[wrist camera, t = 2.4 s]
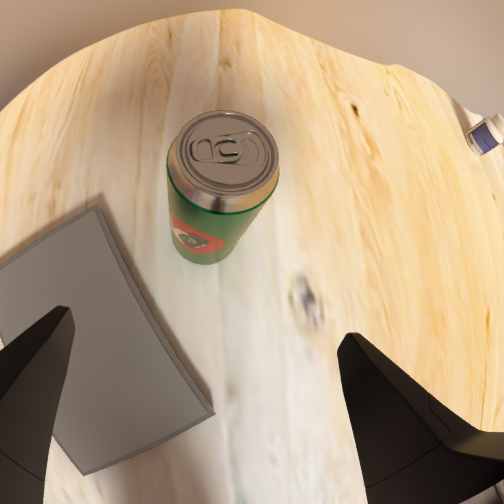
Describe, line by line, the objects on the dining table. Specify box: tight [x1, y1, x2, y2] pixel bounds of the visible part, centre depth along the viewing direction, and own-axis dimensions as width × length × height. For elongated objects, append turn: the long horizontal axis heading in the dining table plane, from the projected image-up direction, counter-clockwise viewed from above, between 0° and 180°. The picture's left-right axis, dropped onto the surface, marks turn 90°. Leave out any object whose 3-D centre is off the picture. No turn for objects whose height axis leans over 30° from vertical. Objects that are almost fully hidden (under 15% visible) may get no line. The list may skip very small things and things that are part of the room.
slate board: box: [0, 204, 216, 476], centre depth 17 cm, size 18×13×1 cm
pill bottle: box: [465, 113, 504, 156], centre depth 34 cm, size 5×5×9 cm
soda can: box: [166, 110, 279, 265], centre depth 17 cm, size 5×5×12 cm
